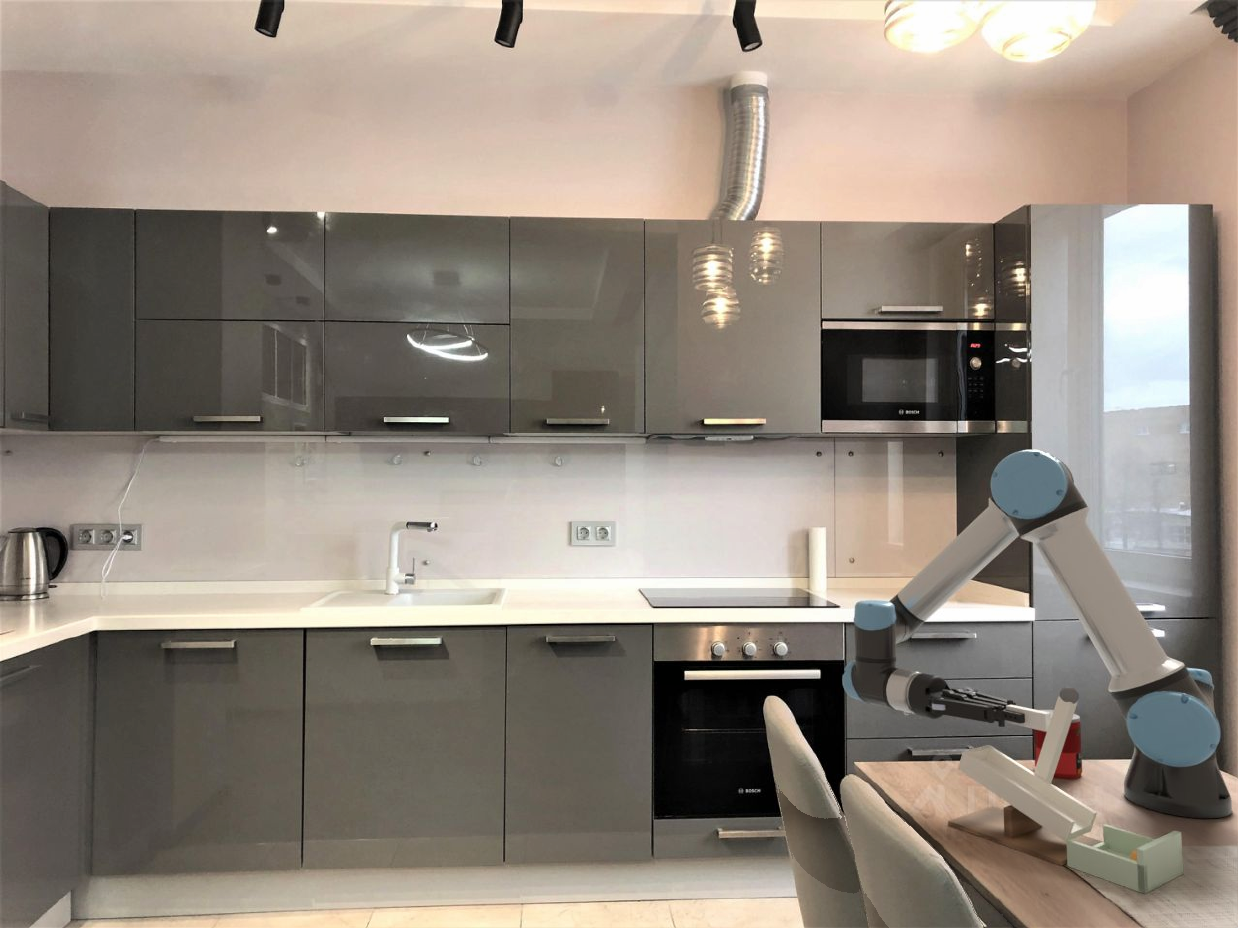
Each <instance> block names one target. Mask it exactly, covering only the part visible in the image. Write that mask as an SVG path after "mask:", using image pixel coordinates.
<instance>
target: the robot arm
mask: <svg viewBox="0 0 1238 928" xmlns="http://www.w3.org/2000/svg"><path fill="white" fill-rule="evenodd" d="M990 491H991V496H990V497H989V498H988V507H987V508H985V510H983V511H982V512H981V513H980V514H979V515H978V516H977V517H975V519H974V520H973V521H972V522H971V523H970V524H968V525H967V526H966V527H965V528H964V529H963V530H962V531H961V533H959V534H958V535H957V536H956V537H955V538H954V539H953V540H952V541H950V543H949V544H948V545H946V547H945V548H943V550H942V551H941V552H940V553H938V554H937V555H936V556H935V557H934V558H933V559H932V560H931V561H930V562H928V564H927V565H926V566H925V567H924V568H922V569H921V570H920V572H918V573H917V574H916V575H915V576H914V577H913V578H912V579H911V580H910V581H909V582H908V583H907V584H906V585H905V586H904V587H902V588H901V590H900V591H898V592H897V594H896V595H894V596H893V597H892V598H891V599H890V600H889V601H888V600H887V601H886V600H878V599H877V600H875V599H873V600H872V599H871V600H869V599H867V600H859V601H857V602H856V603H855V605H854V617H853V624H854V650H855V651H854V652H855V653H854V654H855V656H854V657H855V658H854V660H852V661H850V662H848V663H847V665H846V666H845V667H844V673H843V674H842V679H841V680H842V686H843V689H844V691H845V693H846V694H847V695H848V697H850V698H852V699H855V700H857V701H860V702H863V703H865V704H867V705H875V706H878V707H884V708H888V709H891V710H897V711H901V712H903V715H905V716H909V715H910V714H913V715H917V716H920V717H924V718H927V719H931V720H938V719H940V718H942V716H949V717H954V718H961V719H965V720H966V719H967V720H972V721H978V722H984V723H988V724H994V723H995V722H998V727H999V728H1004V727H1005V726H1006V725H1005V724H1006V723H1007V724H1011V725H1016V726H1018V727H1023V728H1024V727H1025V728H1029V729H1036V730H1041V731H1045V732H1047V730H1048V727H1049V724H1050V721H1051V713H1049V712H1044V711H1039V710H1040V709H1035V708H1034V709H1033V708H1030V707H1025V706H1020V705H1019V706H1018V705H1017V703H1016V701H1014V699H1012V698H1010V699H1006V698H1002V697H998V696H995V695H991V694H988V693H985V692H982V691H980V690H978V689H974V690H972V691H971V692H970V691H965V690H963V689H962V688H958V687H951V688H950V687H949V685H948V683H947V681H946V680H945V679H944V678H943V677H941V676H940V675H934V674H930V673H926V672H924V673H922V672H921V671H916V670H915V671H914V670H910V669H906V668H905V669H903V668H899V667H897V644H900V643H901V642H902V643H903V642H905V641H908V640H909V639H911V638H912V637H913V636H914V635H915V634H916V632H917V630H918V629H919V628H921V626H922V625H923V624H924V623H925V622H926V621H927V620H928V619H930V618H931V616H933V615H934V614H935V613H936V612H937V611H938V610H939V609H940V608H942V606H944V605H945V604H946V603H947V602H948V601H949V600H950V599H951V598H953V596H955V595H956V594H957V593H958V592H959V591H960V590H961V589H962V588H964V586H966V585H967V584H968V583H969V582H970V581H971V580H972V579H973V578H975V577H976V576H977V574H979V573H980V572H981V571H982V570H983V569H984V568H985V567H987V565H989V564H990V563H991V562H992V561H993V560H994V559H995V558H996V557H997V556H999V554H1001V553H1002V552H1003V551H1004V550H1005V549H1007V547H1008V546H1009V545H1011V543H1013V542H1014V541H1015V540H1016V539H1017V538H1018V537H1020V538H1021V539H1022V540H1024V541H1027V542H1031V543H1033V544H1034V545H1035V546H1036V548H1037V549H1038V550H1039V553H1040V555H1041V557H1042V558H1043V560H1044V561H1045V563H1046V565H1047V567H1048V568H1049V570H1050V572H1051V574H1052V575H1053V577H1054V579H1055V580H1056V583H1057V584H1058V585H1059V587H1060V589H1061V591H1062V592H1063V594H1064V596H1065V598H1066V599H1067V601H1068V603H1069V605H1070V606H1071V608H1072V609H1073V611H1074V613H1075V615H1076V617H1077V619H1078V620H1079V621H1080V624H1081V625H1082V627H1083V629H1084V631H1085V632H1086V634H1087V636H1088V637H1089V640H1090V641H1091V643H1092V644H1093V646H1094V649H1095V650H1096V651H1097V653H1098V655H1099V656H1100V658H1101V660H1102V662H1103V664H1104V665H1105V667H1106V668H1107V670H1108V672H1109V674H1110V675H1111V680H1110V682H1109V685H1108V687H1107V689H1108V692H1109V693H1110V695H1111V697H1112V698H1113V701H1114V702H1115V704H1116V706H1117V708H1118V710H1119V711H1120V712H1121V715H1122V716H1123V718H1124V720H1125V722H1126V723H1125V724H1126V730H1127V731H1128V732H1127V733H1128V736H1129V738H1130V739H1131V742H1133V754H1132V757H1131V760H1130V763H1129V766H1128V768H1127V772H1126V774H1125V777H1124V781H1123V790H1124V791H1123V792H1124V793H1123V794H1124V796H1125V798H1126V799H1127V800H1128V801H1130V802H1132V803H1134V804H1135V805H1138V806H1141V807H1142V808H1146V809H1148V810H1152V811H1155V812H1160V813H1162V814H1163V813H1164V814H1166V815H1167V814H1169V815H1173V816H1179V817H1184V818H1185V817H1186V818H1194V819H1195V818H1196V819H1220V818H1225V817H1228V816H1230V815H1231V814H1232V813H1233V808H1232V807H1233V805H1232V802H1233V801H1232V797H1231V794H1230V792H1229V789H1228V787H1227V785H1226V781H1225V779H1224V777H1223V774H1222V772H1221V770H1220V768H1219V765H1218V763H1217V762H1218V761H1217V747H1218V744H1219V743H1220V740H1221V726H1220V722H1219V719H1218V718H1217V715H1216V712H1215V703H1214V690H1215V685H1214V684H1213V678H1212V674H1211V673H1210V672H1209V671H1208V670H1205V669H1201V668H1195V667H1194V668H1192V667H1191V668H1190V667H1186V664H1185V663H1184V662H1182V661H1180V660H1177V659H1174V658H1173V657H1172V658H1171V657H1170V656H1168V655H1167V654H1166V652H1165V650H1164V649H1163V647H1162V646H1161V643H1160V642H1159V640H1158V639H1157V637H1156V636H1155V634H1154V632H1153V631H1152V629H1151V627H1150V626H1149V624H1148V622H1147V620H1146V619H1145V618H1144V615H1143V614H1142V613H1141V611H1140V610H1139V608H1138V606H1137V605H1136V603H1135V601H1134V599H1133V598H1132V595H1131V594H1130V593H1129V591H1128V589H1127V588H1126V586H1125V584H1124V583H1123V581H1122V580H1121V578H1120V576H1119V575H1118V573H1117V572H1116V570H1115V568H1114V566H1113V565H1112V563H1111V561H1110V560H1109V558H1108V557H1107V555H1106V554H1105V551H1104V550H1103V548H1102V546H1101V545H1100V543H1099V542H1098V540H1097V539H1096V536H1095V535H1094V533H1093V532H1092V530H1091V529H1090V526H1089V525H1088V523H1087V517H1088V514H1089V511H1090V507H1089V506H1088V504H1087V503H1086V501H1085V499H1084V498H1083V496H1082V495H1081V493H1080V491H1079V489H1078V488H1077V486H1076V485H1075V481H1074V477H1073V473H1072V472H1071V469H1070V468H1069V466H1067V465H1066V464H1065V463H1064V462H1063V461H1062V460H1060V459H1059V458H1057V457H1056V456H1054V455H1053V454H1051V453H1049V452H1047V451H1043V450H1040V449H1031V448H1030V449H1023V450H1022V449H1021V450H1019V451H1016V452H1013V453H1011V454H1008V455H1007V456H1006V457H1004V458H1003V459H1002V460H1000V461H999V463H998V464H997V465H996V466H995V468H994V470H993V472H992V474H991V478H990ZM1005 721H1006V723H1005Z"/></svg>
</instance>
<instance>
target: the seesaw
mask: <svg viewBox="0 0 1238 928" xmlns="http://www.w3.org/2000/svg"><path fill="white" fill-rule="evenodd" d="M1079 699H1080V695H1079V692H1078V690H1076V689H1075V688H1074V687H1072V686H1065V687H1062V688H1061V689H1060V690H1059V695H1058V696H1057V699H1056V702H1055V705H1054V709H1053V710H1054V711H1053V715H1052V718H1051V721H1050V724H1049V727H1048V730H1047V733H1046V736H1045V740H1044V743H1043V746H1042V749H1041V752H1040V755H1039V758H1038V762H1037V765H1036V767H1035V768H1034V770H1033V771H1032V770H1030V769H1028V768H1027V767H1026V766H1024V765H1022V764H1021V763H1019V762H1018V761H1016V760H1014V759H1013V758H1011V757H1009V755H1006V754H1005V753H1003V752H1002V751H1000V750H999V749H997V748H995V747H993V746H992V745H990V744H985V745H982V746H979V747H974V748H971V749H967V750H964V751H962V754H961V757H960V760H959V765H958V767H957V770H958V771H960V772H961V773H963V774H964V775H965V776H967V777H969V778H970V779H972V780H973V781H974V782H976V783H977V784H979V785H980V786H982V787H984V789H985V788H986V790H988V791H990V793H993V794H994V795H995V796H997V797H998V798H999V799H1002V800H1003V801H1005V802H1006V803H1007V804H1009V806H1010V805H1012V806H1013V807H1015V808H1016V809H1018V810H1019V811H1021V812H1022V813H1024V814H1025V815H1027V816H1028V817H1029V818H1031V819H1032V820H1034V821H1035V822H1037V823H1038V824H1040V825H1041V826H1043V827H1044V828H1046V829H1047V830H1049V831H1050V832H1052V833H1053V834H1055V835H1056V836H1058V837H1059V838H1061V839H1062V840H1064V841H1065V842H1066V841H1067V840H1069V839H1070V840H1071V839H1074V838H1076V837H1078V836H1081V835H1085V834H1088V833H1090V832H1092V829H1093V827H1094V824H1095V821H1096V817H1097V814H1098V811H1096V810H1094V809H1093V808H1091V807H1089V806H1088V805H1086V804H1085V803H1083V802H1081V801H1080V800H1078V798H1076V797H1073V796H1072V795H1070V794H1069V793H1067V792H1066V791H1064V790H1062V789H1061V788H1059V787H1057V786H1056V785H1054V784H1052V783H1053V779H1054V777H1053V776H1054V773H1055V770H1056V767H1057V764H1058V761H1059V758H1060V755H1061V752H1062V749H1063V746H1064V743H1065V740H1066V736H1067V733H1068V730H1069V727H1070V724H1071V721H1072V718H1073V715H1074V714H1075V711H1076V708H1077V706H1078V702H1079Z"/></svg>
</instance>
